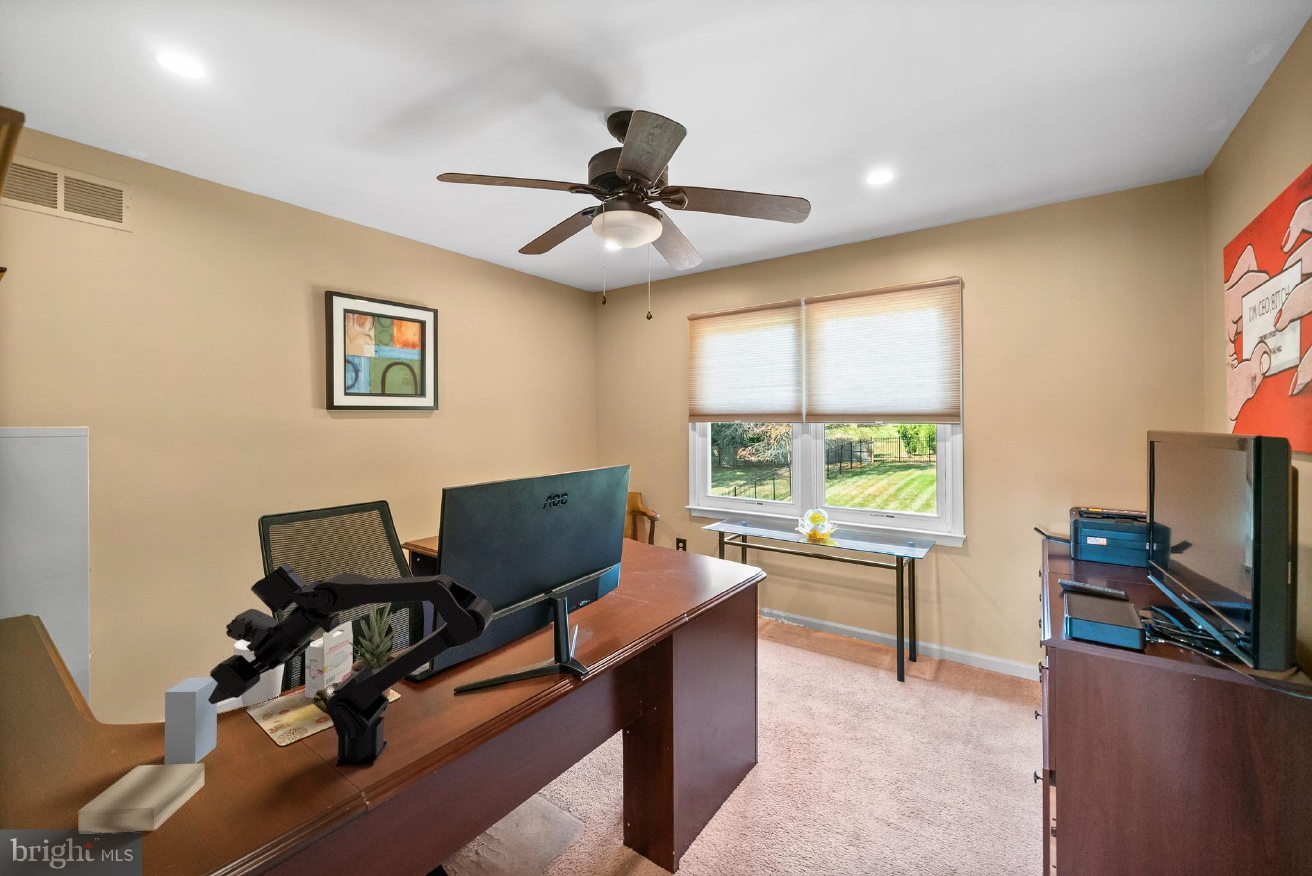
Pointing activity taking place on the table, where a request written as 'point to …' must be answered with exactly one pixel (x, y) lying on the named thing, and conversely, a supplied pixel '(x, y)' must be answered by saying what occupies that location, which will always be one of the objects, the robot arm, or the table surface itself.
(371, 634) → the potted plant
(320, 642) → the ink cartridge box
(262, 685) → the foam cup
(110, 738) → the table surface
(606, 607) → the table surface
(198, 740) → the slate blue pillar
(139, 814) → the maple block
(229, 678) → the robot arm
